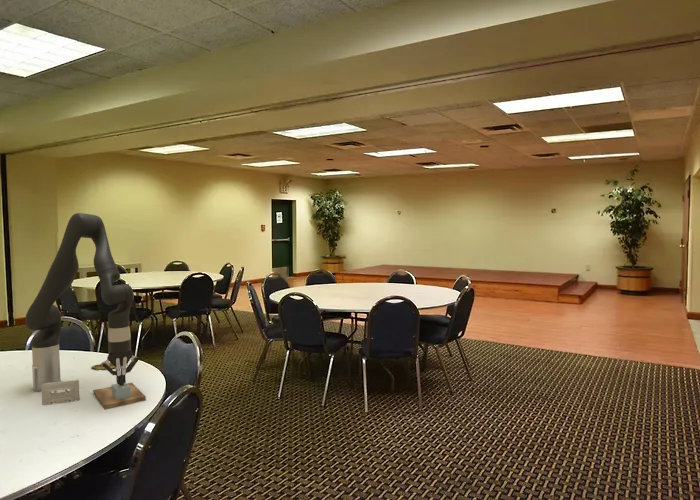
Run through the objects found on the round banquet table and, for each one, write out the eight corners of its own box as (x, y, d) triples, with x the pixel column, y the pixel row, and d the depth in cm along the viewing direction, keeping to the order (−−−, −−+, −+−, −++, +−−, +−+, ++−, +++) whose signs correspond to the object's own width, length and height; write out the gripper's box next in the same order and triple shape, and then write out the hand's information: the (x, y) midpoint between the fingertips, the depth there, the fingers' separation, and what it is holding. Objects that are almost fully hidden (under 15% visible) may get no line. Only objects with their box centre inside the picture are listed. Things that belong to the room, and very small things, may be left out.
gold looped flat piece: (90, 375, 215) (127, 370, 220) (89, 364, 214) (126, 360, 219) (92, 367, 223) (128, 362, 229) (91, 357, 222) (127, 353, 228)
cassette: (79, 399, 181) (79, 379, 181) (79, 400, 180) (78, 380, 179) (42, 404, 177) (41, 383, 176) (41, 405, 175) (40, 385, 175)
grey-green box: (111, 395, 181) (111, 383, 181) (125, 392, 184) (125, 381, 184) (116, 400, 175) (115, 388, 175) (130, 397, 178) (130, 385, 178)
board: (104, 409, 171) (103, 397, 171) (93, 393, 187) (92, 383, 186) (145, 400, 179) (145, 388, 179) (131, 386, 195) (131, 375, 195)
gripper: (135, 334, 186) (137, 378, 187) (97, 339, 177) (99, 385, 178) (141, 337, 180) (142, 383, 181) (101, 343, 171) (103, 391, 172)
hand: (121, 384), depth 179 cm, fingers closed
